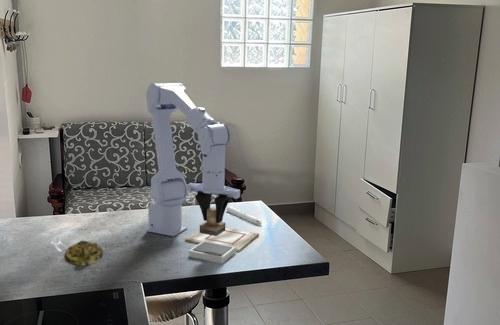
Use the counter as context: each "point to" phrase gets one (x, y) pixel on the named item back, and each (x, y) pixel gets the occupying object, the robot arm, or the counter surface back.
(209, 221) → the stamp
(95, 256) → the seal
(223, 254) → the ink pad
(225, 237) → the wooden board
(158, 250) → the counter surface
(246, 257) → the counter surface
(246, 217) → the marker
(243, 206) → the counter surface
